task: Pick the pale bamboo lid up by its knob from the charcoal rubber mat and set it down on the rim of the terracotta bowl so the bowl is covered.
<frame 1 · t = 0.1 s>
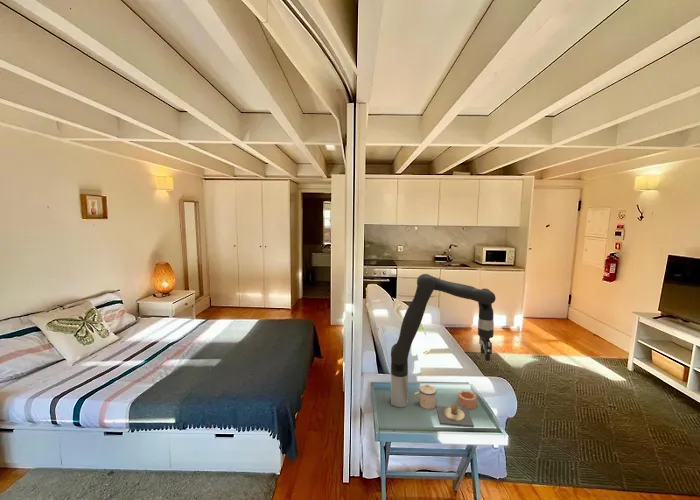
hand: (485, 356, 162), 29 cm above the table, fingers open, 8 cm apart
mat: (454, 417, 158), on the table
lid: (454, 415, 158), point 1 cm above the table, touching mat
bowl: (467, 403, 170), on the table
teacup with lid: (425, 405, 169), on the table
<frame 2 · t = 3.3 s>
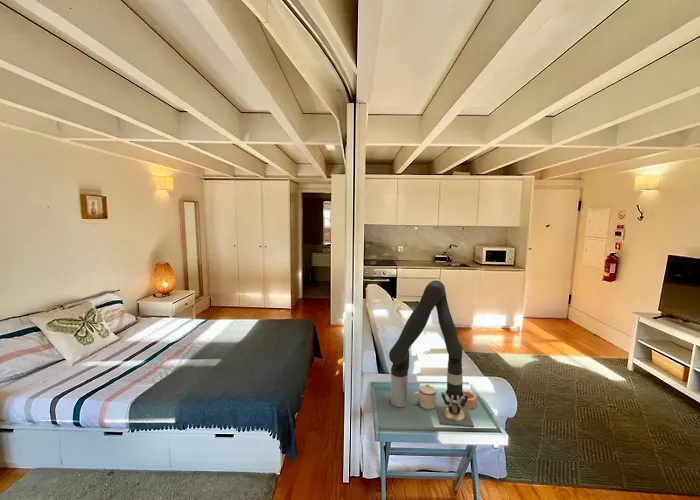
hand: (454, 412, 158), 3 cm above the table, fingers closed on lid, 3 cm apart
lid: (454, 415, 158), point 1 cm above the table, touching gripper, mat
everything else where it was.
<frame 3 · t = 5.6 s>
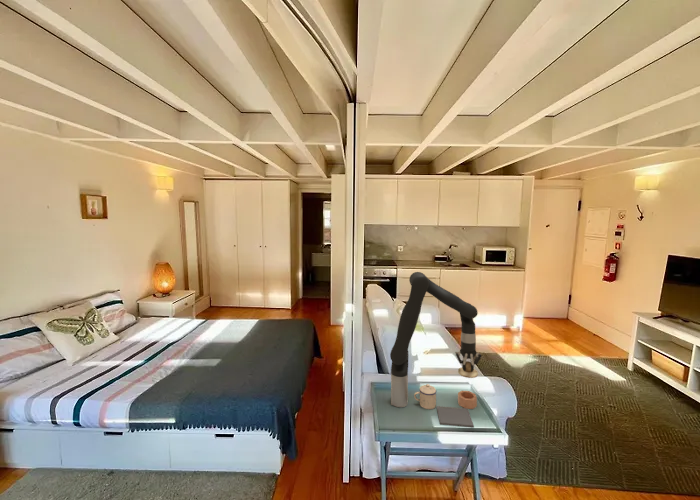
hand: (468, 370, 167), 19 cm above the table, fingers closed on lid, 3 cm apart
lid: (467, 373, 167), point 18 cm above the table, touching gripper
everything else where it was.
when the fingers open (8 cm above the table, at t = 8.0 s): lid drops 2 cm, resting on bowl.
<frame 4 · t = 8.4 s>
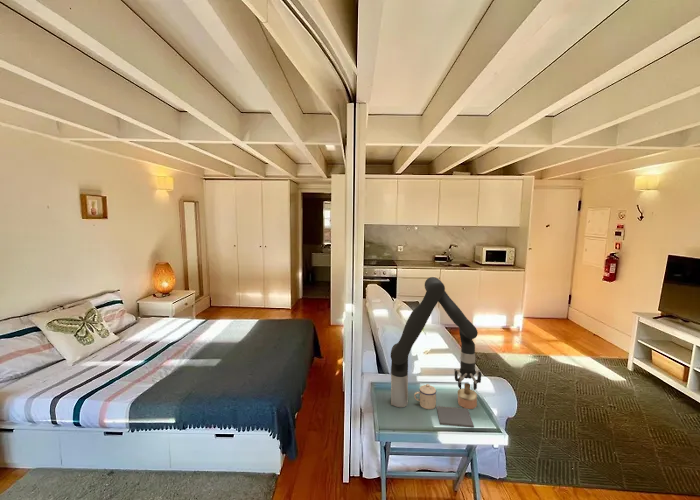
hand: (467, 388, 169), 9 cm above the table, fingers open, 7 cm apart
lid: (467, 395, 169), point 5 cm above the table, touching bowl
everything else where it was.
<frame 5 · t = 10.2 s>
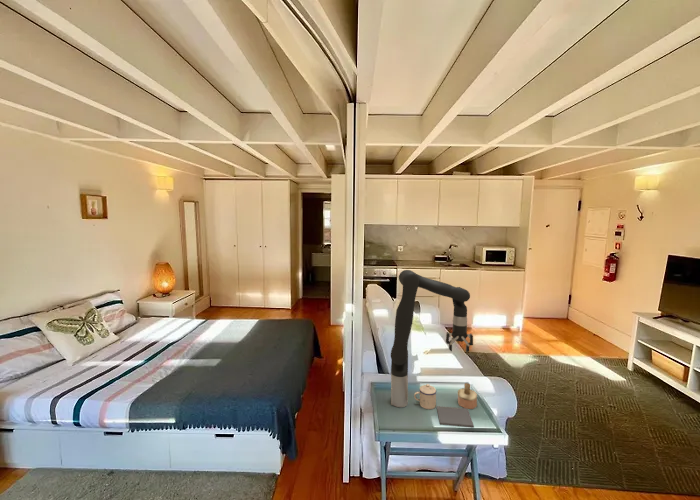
hand: (458, 351, 172), 28 cm above the table, fingers open, 8 cm apart
nothing on the table moved.
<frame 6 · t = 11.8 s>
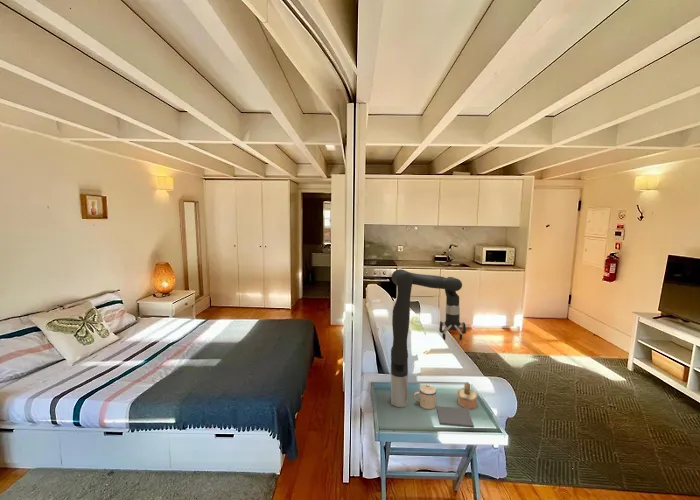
hand: (452, 339, 176), 33 cm above the table, fingers open, 8 cm apart
nothing on the table moved.
at the end: lid 0.1 cm off-centre on the bowl, point 5.0 cm above the bowl's base; lid tilted 0°; the gripper is holding nothing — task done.
